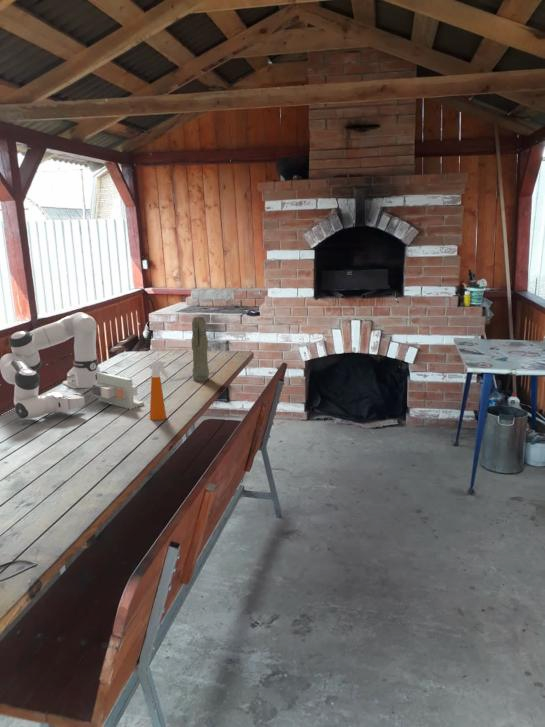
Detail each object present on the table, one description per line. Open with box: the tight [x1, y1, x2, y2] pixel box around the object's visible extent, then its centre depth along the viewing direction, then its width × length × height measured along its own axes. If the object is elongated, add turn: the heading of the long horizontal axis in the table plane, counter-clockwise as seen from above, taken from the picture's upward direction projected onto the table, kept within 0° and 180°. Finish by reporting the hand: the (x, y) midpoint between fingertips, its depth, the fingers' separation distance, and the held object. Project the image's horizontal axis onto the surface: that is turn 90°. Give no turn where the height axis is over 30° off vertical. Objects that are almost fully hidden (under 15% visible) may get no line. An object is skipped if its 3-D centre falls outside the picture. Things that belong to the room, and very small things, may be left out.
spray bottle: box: [148, 360, 170, 421], centre depth 239 cm, size 7×11×26 cm, turn 58°
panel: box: [97, 371, 145, 410], centre depth 265 cm, size 24×8×14 cm, turn 53°
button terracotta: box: [116, 385, 138, 400], centre depth 259 cm, size 5×9×5 cm, turn 143°
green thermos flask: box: [191, 316, 210, 382], centre depth 305 cm, size 9×12×35 cm
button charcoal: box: [91, 383, 107, 396], centre depth 265 cm, size 5×9×5 cm, turn 143°
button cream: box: [101, 385, 116, 398], centre depth 261 cm, size 5×9×5 cm, turn 143°
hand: (81, 395), depth 256 cm, fingers closed
